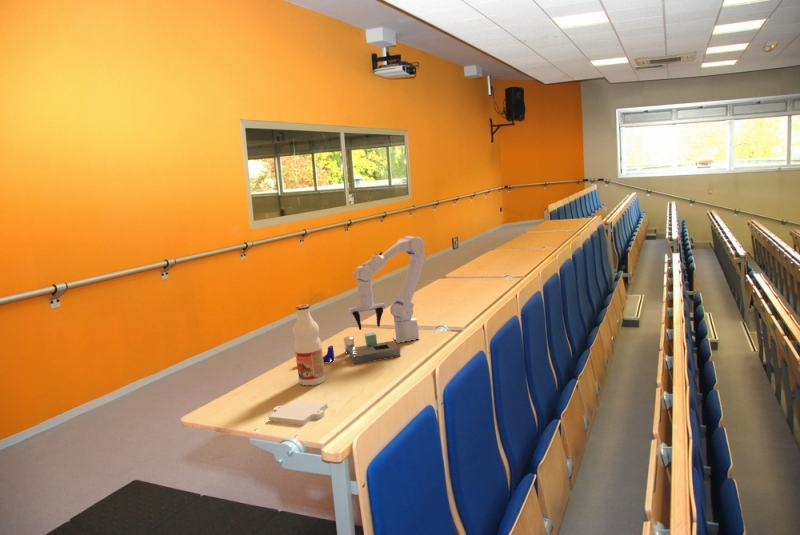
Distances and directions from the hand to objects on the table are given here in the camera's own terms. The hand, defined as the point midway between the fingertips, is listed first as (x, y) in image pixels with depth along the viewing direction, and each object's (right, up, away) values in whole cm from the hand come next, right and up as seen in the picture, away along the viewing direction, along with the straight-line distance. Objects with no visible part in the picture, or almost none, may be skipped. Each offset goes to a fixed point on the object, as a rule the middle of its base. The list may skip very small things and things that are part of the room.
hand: (369, 327), depth 248 cm
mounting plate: (-19, -22, -60) cm, 66 cm away
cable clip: (-19, -13, -10) cm, 25 cm away
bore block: (+3, -10, -9) cm, 14 cm away
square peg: (+1, -9, +1) cm, 9 cm away
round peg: (-8, -10, 0) cm, 12 cm away
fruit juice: (-19, -16, -31) cm, 40 cm away
